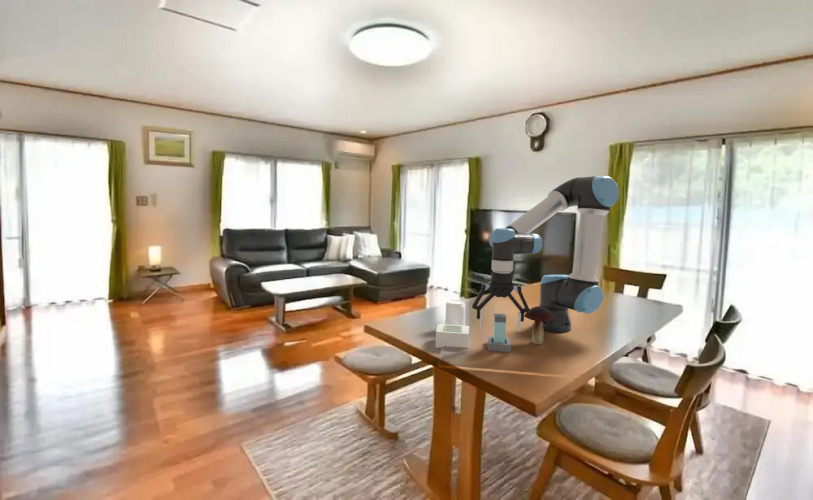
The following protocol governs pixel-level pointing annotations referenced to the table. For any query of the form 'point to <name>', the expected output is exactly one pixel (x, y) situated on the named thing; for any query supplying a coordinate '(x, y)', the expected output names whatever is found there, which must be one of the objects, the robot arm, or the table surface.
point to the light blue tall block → (499, 328)
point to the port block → (452, 336)
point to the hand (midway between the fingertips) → (499, 328)
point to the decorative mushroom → (538, 322)
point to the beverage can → (455, 312)
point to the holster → (499, 345)
